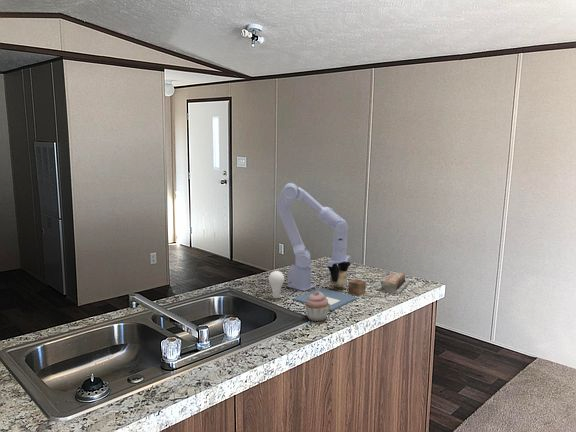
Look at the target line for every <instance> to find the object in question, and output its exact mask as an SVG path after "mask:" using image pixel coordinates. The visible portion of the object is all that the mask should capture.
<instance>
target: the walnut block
mask: <svg viewBox="0 0 576 432" xmlns="http://www.w3.org/2000/svg"><path fill="white" fill-rule="evenodd" d="M366 286H367V281H365V280H362V279H358V278H355V279H351V280H349V281H348V290H347V294H348V295H352V296H356V297H357V296H358V297H359V296H362V295H364V294H366Z"/></svg>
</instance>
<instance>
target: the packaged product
mask: <svg viewBox="0 0 576 432" xmlns="http://www.w3.org/2000/svg"><path fill="white" fill-rule="evenodd" d="M410 283H411V280H410V279H406V274H405V273H403V272H393V273H390V274H389V275H387V276H386V277H385V278H383V280H381V282H380V285H379V286H377V287H376V288H375V289H376V291H379V292H385V293H392V294H398V295H400V294H401V293H402V292H403V291H404V290H405V289H406V288H408V286H409V285H410Z"/></svg>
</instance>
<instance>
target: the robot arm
mask: <svg viewBox="0 0 576 432" xmlns="http://www.w3.org/2000/svg"><path fill="white" fill-rule="evenodd" d="M295 200H296V201H299V202H304V203H305V204H307V205H308V206H309V208H311V209H312V210H314V211H315V212H316V213H318V218H319V219H320V220H321V221H323V222H324V224H326V225H327V226H329V228H332V229H333V237H332V238H333V239H332V256H331V258H330V259H329V260H328V261H327V262H326V267H327V268H328V271H329V274H331V278H332V281H334V282H337V280H338V274H339V270H341V271H346V272H347V273H348V269H349V267H350V266H351V262H350V261H351V258H352V257H351V255H348V254H347V248H348V231H349V225H348V223H347V221H346V220H345V218H342V216H341V215H338V213H336V212H335V211H334V209H333V208H332V207H328V206H323V205H321V203H319V202H318V201H317V200H316V199H315V198H313V196H312V195H311V194H310V193H308V192H307V190H305V189H303V188H302V187H300V186H298V185H297V184H296V183H295V182H294V183H293V182H289V183H288V182H287V183H286V184H285V185H284V186H283V188H282V190H281V191H280V193H279V198H278V201H277V206H276V209H277V211H278V214H279V217H280V219H281V222H282V224H283V227H284V229H285V232H286V234H287V237H288V239H289V242H290V244H291V247H292V250H293V253H294V257H295V262H294V264H292V265H290V266H289V269H288V271H287V272H288V274H287V281H288V282H287V285H286V287H288V288H291V289H295V290H299V291H301V292H302V291H303V292H305V291H308V290H311V289H313V288H315V287H316V285H314V284H312V271H313V270H312V268H313V267H312V264H311V262H312V261H311V257H312V255H311V252H310V250H308V249H307V248H306V246H305V243H304V242H303V240H302V239H303V238H302V237H301V235H300V231H299V229H298V227H297V224H296V222H295V220H294V217H293V214H292V212H291V211H292V210H291V208H290V207H291V204H292V203H293V201H295Z"/></svg>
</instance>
